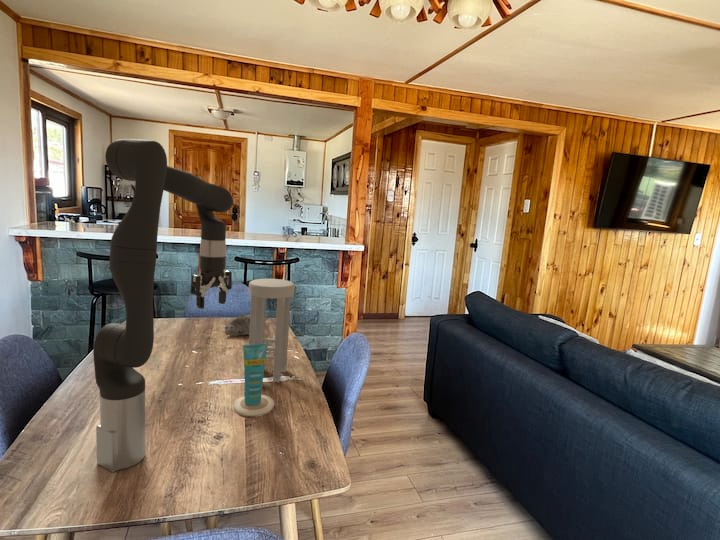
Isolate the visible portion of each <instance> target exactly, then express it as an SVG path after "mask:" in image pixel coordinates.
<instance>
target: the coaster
mask: <svg viewBox="0 0 720 540" xmlns="http://www.w3.org/2000/svg"><path fill="white" fill-rule="evenodd" d="M274 403H275V401H274V399H273V398H271V397H270V396H268V395H264V394H261V403H260V404H259V405H256V406H248V405H246V404H245V395H244V396H243V395H242V396H241V397H239V398H238V397H237V399H236V400H235V401H234V404H233V411H234V412H235V413H236V412H237V413H236V414H238V415H239V416H243V415H244V417H248V416H256V417H261V416H260V415H262V416H264V414H265V415H268V414H269V413H270V411H271V410H272V411H273V410H274V406H275V404H274ZM272 411H271V412H272Z"/></svg>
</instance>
